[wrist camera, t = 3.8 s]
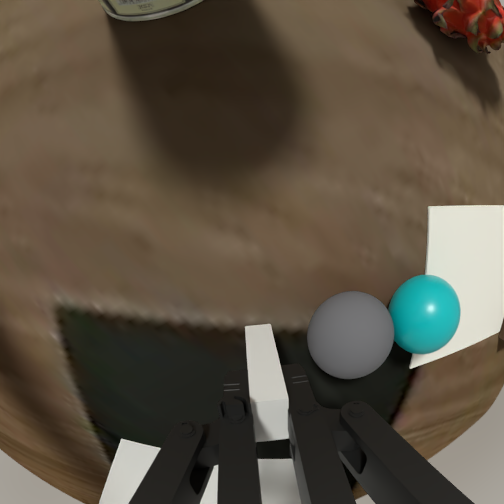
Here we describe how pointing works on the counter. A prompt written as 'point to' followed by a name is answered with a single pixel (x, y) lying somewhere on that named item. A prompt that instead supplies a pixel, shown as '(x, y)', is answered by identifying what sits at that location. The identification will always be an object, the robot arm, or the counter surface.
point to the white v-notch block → (270, 472)
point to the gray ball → (350, 335)
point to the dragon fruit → (469, 21)
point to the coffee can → (145, 8)
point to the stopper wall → (502, 332)
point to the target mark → (468, 270)
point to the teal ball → (424, 314)
